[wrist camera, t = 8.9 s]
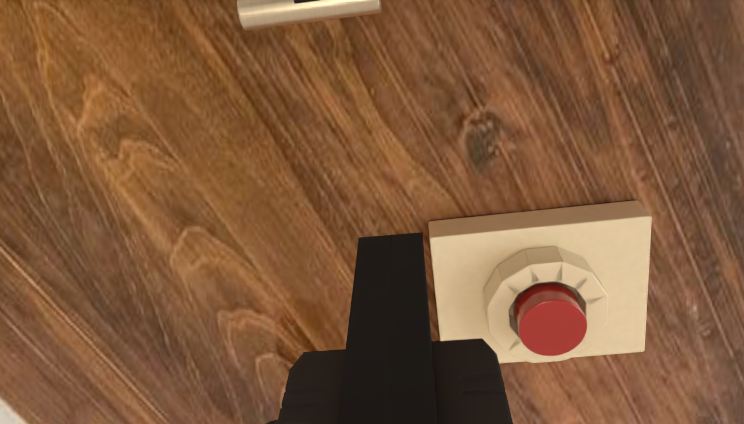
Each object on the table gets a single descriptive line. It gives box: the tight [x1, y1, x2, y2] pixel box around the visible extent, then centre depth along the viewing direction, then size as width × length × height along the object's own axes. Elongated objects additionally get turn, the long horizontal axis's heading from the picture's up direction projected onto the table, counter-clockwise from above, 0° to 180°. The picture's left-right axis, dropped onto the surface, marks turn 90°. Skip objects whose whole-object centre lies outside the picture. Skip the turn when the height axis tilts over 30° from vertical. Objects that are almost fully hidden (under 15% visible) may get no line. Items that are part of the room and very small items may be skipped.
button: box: [514, 283, 587, 356], centre depth 35 cm, size 4×4×2 cm
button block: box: [428, 200, 652, 363], centre depth 37 cm, size 12×9×4 cm
